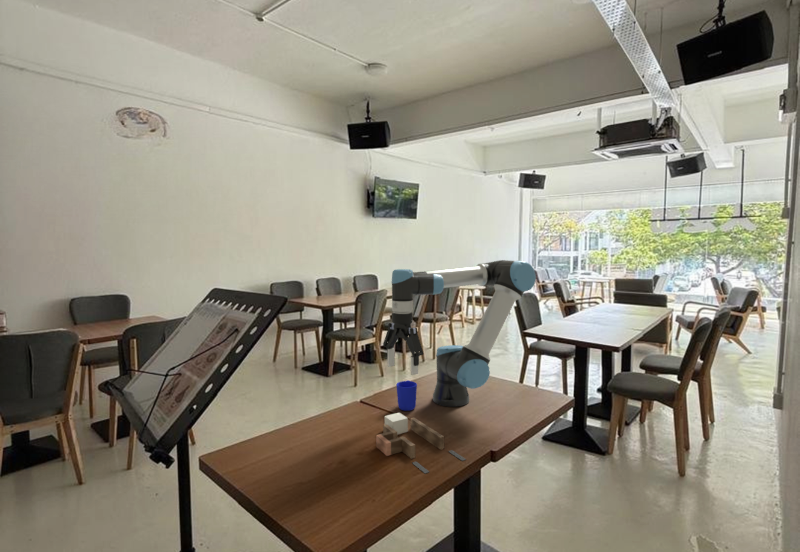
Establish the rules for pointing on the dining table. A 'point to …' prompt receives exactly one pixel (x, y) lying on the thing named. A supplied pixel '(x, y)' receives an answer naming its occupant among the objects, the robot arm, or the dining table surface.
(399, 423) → the block
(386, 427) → the wooden bar frame
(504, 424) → the dining table surface
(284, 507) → the dining table surface
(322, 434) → the dining table surface
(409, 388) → the mug
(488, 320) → the robot arm
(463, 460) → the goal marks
